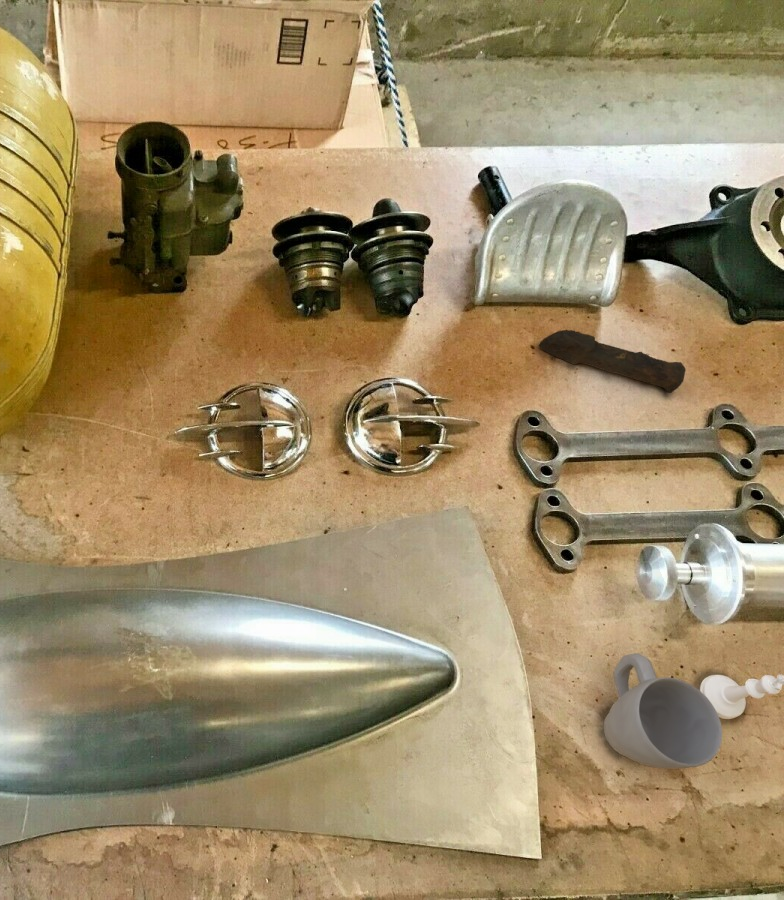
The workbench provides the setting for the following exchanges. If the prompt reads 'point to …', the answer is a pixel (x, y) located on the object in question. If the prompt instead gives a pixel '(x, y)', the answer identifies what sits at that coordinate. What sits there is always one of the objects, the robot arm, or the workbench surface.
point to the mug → (661, 719)
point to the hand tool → (613, 359)
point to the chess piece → (737, 692)
